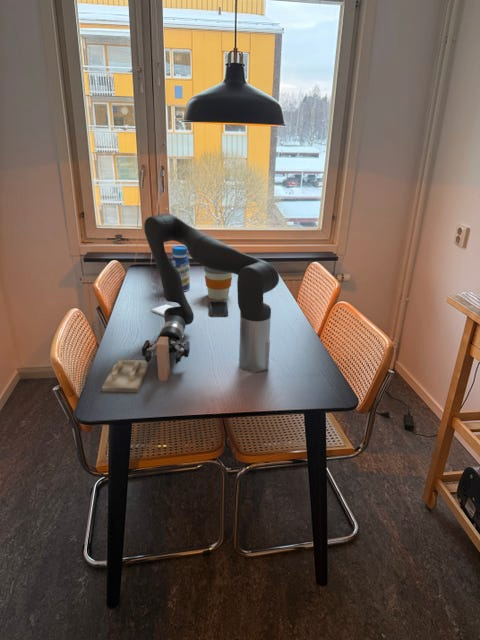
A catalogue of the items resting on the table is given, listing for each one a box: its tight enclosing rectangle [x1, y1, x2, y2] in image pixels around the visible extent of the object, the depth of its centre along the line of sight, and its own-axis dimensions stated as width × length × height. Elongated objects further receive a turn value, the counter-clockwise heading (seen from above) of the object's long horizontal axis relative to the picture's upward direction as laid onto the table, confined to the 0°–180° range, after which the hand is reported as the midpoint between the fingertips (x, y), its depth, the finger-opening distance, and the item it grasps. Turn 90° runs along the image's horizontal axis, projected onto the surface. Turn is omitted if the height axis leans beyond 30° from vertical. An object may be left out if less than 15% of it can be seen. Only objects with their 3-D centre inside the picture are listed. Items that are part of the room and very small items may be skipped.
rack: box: [101, 359, 150, 393], centre depth 127 cm, size 16×10×3 cm, turn 179°
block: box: [156, 337, 171, 382], centre depth 126 cm, size 5×2×12 cm, turn 179°
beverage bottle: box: [170, 245, 191, 292], centre depth 196 cm, size 8×8×20 cm
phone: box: [208, 300, 229, 318], centre depth 178 cm, size 8×1×15 cm
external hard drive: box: [151, 304, 173, 317], centre depth 173 cm, size 2×8×12 cm
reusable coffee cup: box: [204, 266, 233, 301], centre depth 189 cm, size 13×12×15 cm
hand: (162, 360), depth 124 cm, fingers open, 8 cm apart
